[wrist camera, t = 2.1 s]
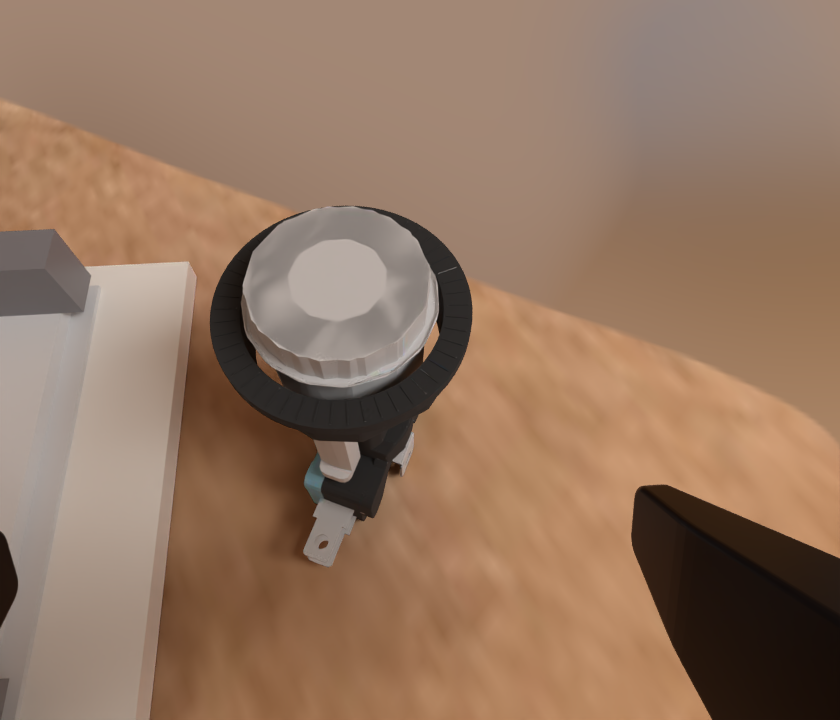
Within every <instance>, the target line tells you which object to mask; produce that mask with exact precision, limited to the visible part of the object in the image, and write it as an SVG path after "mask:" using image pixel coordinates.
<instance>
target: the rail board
mask: <svg viewBox="0 0 840 720" xmlns="http://www.w3.org/2000/svg"><path fill="white" fill-rule="evenodd" d="M196 280H197V277H196V275H195V273H194V271H193V269H192V267H191V265H190V263H189V262H172V263H151V264H131V265H111V266H91V267H84V266H83V265H82V263H81V262H80V261H79V260H78V258H77V257H76V256H75V255H74V253H73V252H72V251H71V250H70V248H69V247H68V246H67V245H66V243H65V242H64V241H63V240H62V238H61V237H60V236H59V234H58V233H57V232H56V231H55V229H49V230H27V231H5V232H0V531H1V532H2V533H3V534H4V535H5V537H6V539H7V542H8V545H9V549H10V552H11V556H12V559H13V563H14V566H15V569H16V573H17V576H18V591H17V594H16V597H15V600H14V602H13V604H12V606H11V608H10V610H9V612H8V614H7V616H6V618H5V620H4V622H3V624H2V626H1V628H0V720H149V719H150V710H151V701H152V691H153V682H154V673H155V663H156V654H157V645H158V635H159V626H160V616H161V607H162V598H163V588H164V579H165V570H166V560H167V551H168V542H169V532H170V523H171V514H172V504H173V495H174V485H175V476H176V467H177V457H178V448H179V439H180V429H181V420H182V411H183V401H184V392H185V383H186V373H187V364H188V354H189V345H190V336H191V326H192V317H193V308H194V298H195V289H196Z"/></svg>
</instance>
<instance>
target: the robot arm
mask: <svg viewBox="0 0 840 720" xmlns="http://www.w3.org/2000/svg"><path fill="white" fill-rule="evenodd" d="M631 539H632V546H633V550H634V553H635V556H636V558H637V560H638V563H639V565H640V568H641V570H642V573H643V575H644V578H645V580H646V583H647V585H648V588H649V590H650V592H651V595H652V597H653V600H654V602H655V605H656V607H657V610H658V612H659V615H660V617H661V619H662V622H663V624H664V627H665V629H666V632H667V634H668V636H669V638H670V641H671V643H672V645H673V647H674V649H675V651H676V653H677V655H678V657H679V659H680V661H681V663H682V665H683V666H684V668H685V670H686V672H687V674H688V676H689V678H690V679H691V681H692V683H693V685H694V687H695V689H696V691H697V692H698V694H699V696H700V698H701V700H702V702H703V704H704V705H705V707H706V709H707V711H708V713H709V715H710V717H711V718H712V720H840V558H838V557H835V556H833V555H831V554H828V553H826V552H824V551H821V550H819V549H817V548H814V547H812V546H809V545H807V544H805V543H802V542H800V541H798V540H795V539H793V538H791V537H788V536H786V535H784V534H781V533H779V532H777V531H774V530H772V529H770V528H767V527H765V526H762V525H760V524H758V523H755V522H753V521H751V520H748V519H746V518H744V517H741V516H739V515H737V514H734V513H732V512H730V511H727V510H725V509H723V508H720V507H718V506H715V505H713V504H711V503H708V502H706V501H704V500H701V499H699V498H697V497H694V496H692V495H690V494H687V493H685V492H683V491H680V490H678V489H676V488H673V487H671V486H668V485H647V486H641V487H639V488H638V489H637V491H636V493H635V498H634V509H633V521H632V533H631ZM17 591H18V576H17V573H16V569H15V566H14V563H13V559H12V556H11V552H10V549H9V545H8V542H7V539H6V537H5V535H4V534H3V533H2V532H1V531H0V628H1V626H2V624H3V622H4V620H5V618H6V616H7V614H8V612H9V610H10V608H11V606H12V604H13V602H14V600H15V597H16V594H17Z"/></svg>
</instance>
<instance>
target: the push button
mask: <svg viewBox="0 0 840 720" xmlns="http://www.w3.org/2000/svg"><path fill="white" fill-rule="evenodd" d="M435 322H437V325H438V329H439V334H440V335H439V337H438V340H437V342H436V344H435V346H434V348H433V350H432V352H431V353H430V354H429V356H428V357H427V358H426V360H425V361H424V362H423V355H424V345H425V343H426V341H427V339H428V337H429V335H430V333H431V331H432V329H433V326H434V324H435ZM471 325H472V300H471V294H470V290H469V285H468V283H467V280H466V277H465V274H464V272H463V271H462V269H461V267H460V265H459V263H458V262H457V260H456V258H455V257H454V256H453V254H452V253H451V252H450V251H449V250H448V248H447V247H446V246H445V245H444V244H443V243H442V242H441V241H440V240H439V239H438V238H437V237H436V236H434V235H433V234H432V233H431V232H429V231H428V230H427V229H425V228H423V227H422V226H420V225H419V224H417V223H415V222H413V221H411V220H409V219H407V218H404V217H402V216H399V215H397V214H394V213H391V212H388V211H384V210H380V209H375V208H370V207H360V206H333V207H324V208H318V209H313V210H309V211H306V212H302V213H299V214H296V215H293V216H291V217H288V218H286V219H283V220H281V221H279V222H277V223H275V224H273V225H272V226H270V227H268V228H267V229H265V230H263V231H262V232H261V233H259V234H258V235H257V236H255V237H254V238H253V239H251V240H250V241H249V242H248V243H247V244H246V245H245V246H244V247H243V248H242V249H241V250H240V251H239V252H238V253H237V254H236V255H235V256H234V258H233V259H232V261H231V262H230V263H229V265H228V266H227V268H226V269H225V271H224V273H223V274H222V276H221V278H220V281H219V283H218V285H217V287H216V290H215V293H214V297H213V300H212V306H211V312H210V332H211V339H212V344H213V348H214V351H215V354H216V357H217V360H218V362H219V364H220V366H221V368H222V370H223V371H224V373H225V375H226V376H227V378H228V379H229V381H230V383H231V384H232V386H233V387H234V388H235V390H236V391H237V392H238V393H239V394H240V395H241V397H242V398H243V399H244V400H245V401H247V402H248V403H249V404H250V405H251V406H252V407H253V408H255V409H256V410H257V411H259V412H260V413H262V414H263V415H265V416H266V417H268V418H270V419H272V420H274V421H275V422H278V423H280V424H282V425H285V426H287V427H290V428H293V429H296V430H299V431H301V432H302V433H304V434H306V435H307V436H309V437H310V438H312V439H313V440H314V443H315V445H316V448H317V450H318V452H317V454H316V456H315V459H314V461H312V462H311V465H310V467H309V469H308V471H307V474H306V476H305V480H304V486H305V488H306V489H307V490H308V492H309V494H310V496H311V498H312V500H313V501H314V503H316V504H318V505H317V507H316V509H315V512H314V514H313V517H315V518H317V520H316V522H315V524H314V527H313V529H312V531H311V534H310V536H309V538H308V540H307V543H306V545H305V547H304V550H303V552H304V555H306V556H308V559H309V560H310V561H313V562H315V563H318V564H320V565H323V566H326V567H330V566H332V564H333V562H334V559H335V557H336V554H337V552H338V549H339V547H340V544H341V542H342V539H343V537H344V534H347V535H350V533H351V530H352V528H353V525H354V523H355V520H356V519H359V520H361V521H364V520H365V518H366V516H368V517H371V518H374V517H375V515H376V513H377V510H378V508H379V505H380V502H381V499H382V496H383V492H384V488H385V483H386V479H387V475H388V471H389V468H390V466H391V463H392V462H394V463H397V464H399V465H400V476H401V477H402V476H403V475H404V472H405V470H406V467H407V465H408V462H409V459H410V457H411V454H412V451H413V447H414V437H413V436H414V433H412V432H411V431H412V427H413V423H415V421H416V419H417V417H418V414H420V413H422V412H424V411H426V410H427V409H429V407H430V406H431V405H432V403H433V402H434V400H435V399H436V397H437V396H438V395H439V394H440V393H441V392H442V390H443V389H444V388H445V387H446V386H447V385H448V383H449V382H450V381H451V379H452V378H453V376H454V375H455V373H456V372H457V370H458V368H459V366H460V364H461V362H462V360H463V357H464V355H465V352H466V349H467V345H468V342H469V337H470V332H471ZM256 350H257V351H258V353H259V354H260V355H261V357H262V358H263V360H264V361H265V362H266V363H267V364H269V365H270V366H271V367H273V368H274V369H276V371H277V373H278V376H279V378H280V380H281V382H282V384H283V386H284V387H283V386H281V385H280V384H278V383H277V382H275V381H273V380H272V379H271V378H270V377H269V376H267V375H266V374H265V373H264V372H263V371H262V370H261V369H260V368H259V367H258V366H257V361H256ZM323 541H329V542H328V545H327V546H326V547H325V548H324V549H319V545H320V543H321V542H323Z"/></svg>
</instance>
